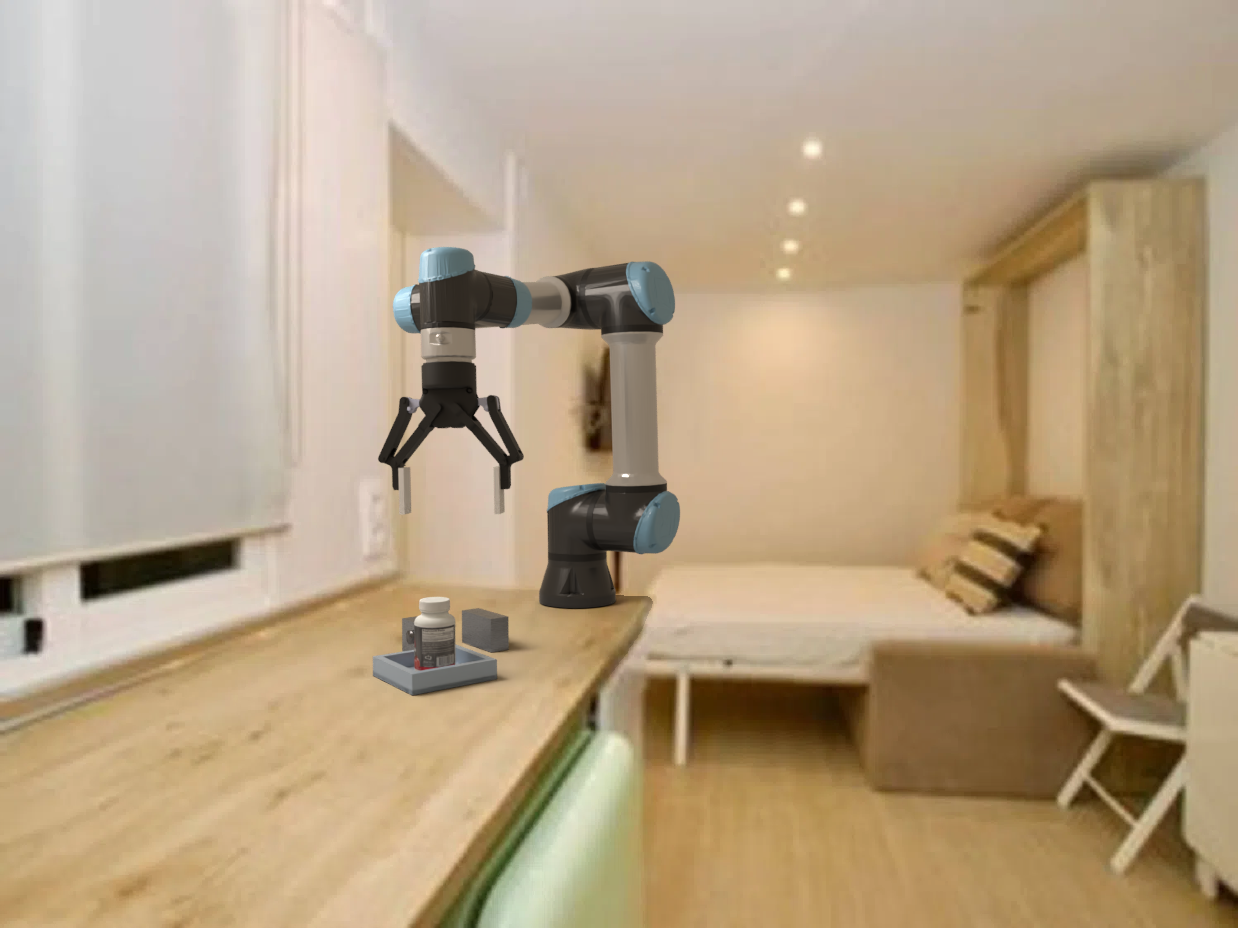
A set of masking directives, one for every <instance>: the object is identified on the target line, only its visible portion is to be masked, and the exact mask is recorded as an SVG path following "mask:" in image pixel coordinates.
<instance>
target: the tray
mask: <svg viewBox="0 0 1238 928" xmlns="http://www.w3.org/2000/svg"><path fill="white" fill-rule="evenodd" d="M455 662H456V664H455V665H450V666H444V667H439V668H433V669H427V670H421V671H415V666H414V650H410V651H403V652H402V651H398V652H391V653H386V654H379V655H373V656H372V676H373V677H375V678H377V679H379V680H381V681H382V682H384V683H387V684H389V685H391V686H392V687H394V688H397V689H398V690H400V691H402V692H404V693H407V694H409V695H410V696H417V695H422V694H426V693H427V694H428V693H432V692H437V691H438V692H439V691H444V690H448V689H452V688H459V687H463V686H469V685H473V684H480V683H483V682H489V681H494V680H498V659H497V658H494V657H492V656H489V655H486V654H483V653H480V652H478V651H474V650H472V649H469V648H467V647H464V646H462V645H458V644H456V661H455Z"/></svg>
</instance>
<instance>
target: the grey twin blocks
mask: <svg viewBox="0 0 1238 928" xmlns="http://www.w3.org/2000/svg"><path fill="white" fill-rule="evenodd" d="M418 616H419V615H416V616H408V617H402V618H401V648H402V651H401V652H403V651H410V650H414V621H415V619H416V617H418ZM509 632H510V631H509V616H507V615H504V614H501V613H498V612H494V611H490V610H487V609H483V608H480V607H478V608H476V607H475V608H470V609H469V608H468V609H462V610H461V642H462V643H464V644H466V645H469V646H471V647H475V648H477V649H480V650H484V651H485V652H489V653H497V652H502V651H509V638H510V637H509V636H510V635H509Z"/></svg>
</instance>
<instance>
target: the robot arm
mask: <svg viewBox="0 0 1238 928" xmlns="http://www.w3.org/2000/svg"><path fill="white" fill-rule="evenodd" d="M418 271H419V272H418V279H417V282H418V283H417V284H413V285H410V286H406V287H402V288H401V289H399V291H397V293H396V294H395V295H394V299H393V301H392V309H393V311H392V312H393V318H394V320H395V322H396V324H397V326H398V327H399V328H400V329H401V330H403V331H404V332H406V333H408V334H420V353H421V354H420V355H421V356H420V357H421V358H422V360H425V362H423V363H422V364H421V366H420V367H421V371H420V372H421V392H422V393H421V396H420V399H418V398H412V397H410V396H409V397H408V396H401V397H400V398H399V401H398V402H399V404H398V411H397V415H396V417H395V420H394V421H393V424H392V426H391V428H390V430H389V433H388V434H387V437H386V439H385V441H384V443H383V446H382V447H381V451H380V452H379V455H378V457H377V460H378V462H379V463H380V464H385V465H388V466H389V467H390V468H391V480H392V481H391V483H392V485H391V486H392V489H393V491H398V504H399V505H398V511H399V512H398V513H399V515H401V516H403V515H408V514H411V513H412V487H411V486H412V485H411V478H412V477H411V466H406V464H407V462H408V461H409V460H410V459H411V457H413V455H414V453H415V452H416V451H417V450H418V448H419V447H420V446H421V445H422V443H423V442H424V440H425V439H426V438H427V437H428V436H429V435H430V433H431V432H432V431H434V429H435V428H437V429H449V428H451V429H464V428H465V427H466V428H467V429H468V431H470V432H471V433H472V434H473V435H474V436H475V438H476V439H477V441H479V443H480V444H481V445H482V446H483V447H484V448H485V450H486V451H487V452H489V454H490V455H491V456H492V458H493V459H494V460H495V461H496V462H497V463H498V466H494V467H493V502H494V503H493V504H494V505H493V506H494V507H493V508H494V509H493V511H494V512H493V513H494V515H501V514H504V513H505V490H510V489H511V486H512V465H513V464H515V463H518V462H521V461H523V460H524V453H523V451H522V449H521V447H520V446H519V443H518V442H517V440H516V439H517V438H515V435H514V433H513V432H512V430H511V428H510V426H509V424H508V422H507V420H506V418H505V416H504V414H503V412H502V408H501V400H500V397H499V396H497V395H494V394H493V395H492V394H489V395H488V396H484V397H479V396H478V392H477V391H478V390H477V389H478V388H477V387H478V386H477V384H478V383H477V365H476V364H475V363H474V362H473V361H474V360H475V359H476V358H477V346H476V343H477V341H476V330H477V329H487V328H489V329H490V328H500V329H514V328H515V329H516V328H519V327H521V326H526V325H540V326H541V327H543V328H544V329H574V330H589V331H591V330H594V331H595V330H600V335H601V336H600V338H601V339H603V341H605V343H606V344H607V345H608V346H609V347H608V348H609V367H610V368H609V372H610V405H611V406H610V407H611V409H610V410H611V412H610V413H611V441H612V444H611V445H612V474H611V475H610V477H609V478H608V479H607V480H605V483H604V482H596V483H586V484H577V485H570V486H562V487H556V488H553V489H551V490H550V491H549V493H548V495H547V496H548V497H547V508H546V514H547V565H546V568H545V571H544V575H543V578H542V581H541V585H540V588H539V591H538V601H539V604H541V605H543V606H546V607H547V606H548V607H553V608H566V609H567V608H568V609H582V608H583V609H585V608H586V609H587V608H597V607H605V606H609V605H612V604H615V603H616V602H617V595H616V594H617V593H616V592H617V591H616V588H615V585H614V581H613V578H612V574H611V571H610V569H609V566H608V562H607V561H608V560H607V559H608V557H607V556H608V553H607V552H621V553H622V552H623V553H634V554H635V553H636V554H638V555H645V554H661V553H663V552H664V551H666V550H667V549H668V548H669V547H670V546H671V544H672V543H673V541H674V539H675V537H676V535H677V534H678V533H677V532H678V529H679V526H680V519H681V506H680V502H679V501H678V498H677V496H676V495H675V494H674V493H673V492H671V491H668V481H667V479H666V478H664V477H663V475H661V473H660V470H659V437H658V436H659V435H658V434H659V433H658V431H659V430H658V399H657V398H658V396H657V394H658V393H657V389H658V387H657V359H656V356H657V355H656V353H657V352H656V350H657V349H656V346H657V343H658V342H659V341H660V340H661V339H662V338H663V337H664V325H667V324H668V323H670V322H671V321H672V319H673V318H674V314H675V311H676V297H675V292H674V288H673V285H672V282H671V280H670V278H669V276H668V275H667V272H666V271H665V269H664V268H662V267H661V266H660V265H659V264H658V263H656V262H653V261H650V260H649V261H648V260H647V261H629V262H625V263H618V264H617V263H616V264H613V265H604V266H598V267H589V268H583V269H580V270H575V271H572V272H571V271H570V272H569V273H568V272H567V273H562V274H559V275H550V276H549V275H548V276H547V275H546V276H542V277H540V278H539V279H537V280H536V281H526V282H525V281H523V282H522V281H520V280H518V279H515V278H512V277H511V276H509V275H499V274H495V273H489V272H486V271H480V270H478V269H476V265H475V259H474V255H473V253H472V252H471V251H470V250H468V249H465V248H460V247H456V246H455V247H454V246H438V247H432V248H428V249H425V250H423V251H422V253H421V254H420V256H419V270H418ZM480 407H482V409H483V410H484V411H485V412H486V413H488V415H489V418H490V419H491V421H492V422H493V425H494V427H495V429H496V431H497V432H498V434H499V437H500V439H501V441H502V443H503V444H504V446H505V449H506V451H507V453H508V454H507V453H506V451H505V450H504V449H503V448H502V447H501V446H500V445H499V443H498V442H497V441H496V440H495V438H493V436H492V435H491V434H490V433H489V432H488V430H486V429H485V427H484V426H483V425H482V423H481V422H480V420H479V419H478V418H477V417H476V415H475V414H476V413H477V411H478V410H479V408H480ZM418 408H420V410H421V411H422V412H423V414H424V417H423V418H421V421H420V422H419V423H418V425H417V427H416V429H415V430H414V431H413V432H412V434H411V435H410V436H409V437H408V439H407V440H406V441H405V443H404V444H403V445H402V446H401V448H400V449H399V450H398V448H399V447H400V443H401V442H402V441H403V438H404V435H405V433H406V430H407V429H408V427H409V425H410V422H411V420H412V418H413V414H415V413H416V412H417V410H418ZM397 450H398V451H397Z"/></svg>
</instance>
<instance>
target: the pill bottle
mask: <svg viewBox="0 0 1238 928" xmlns="http://www.w3.org/2000/svg"><path fill="white" fill-rule="evenodd" d="M418 609H419V611H420V613H421V614H420V615H417V616H418V617H416V619H415V621H414V666H415V671H421V670H427V669H433V668H439V667H444V666H450V665H455V664H456V662H455V661H456V645H457V644H456V627H457V624H456V618H455V616H454V615H453V614H450V613H449V611H451V599H450V598H449V597H446V596H428V597H423V598H420V599H419V602H418Z"/></svg>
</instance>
